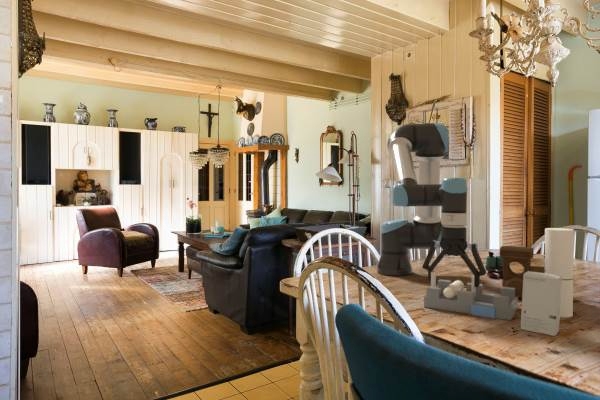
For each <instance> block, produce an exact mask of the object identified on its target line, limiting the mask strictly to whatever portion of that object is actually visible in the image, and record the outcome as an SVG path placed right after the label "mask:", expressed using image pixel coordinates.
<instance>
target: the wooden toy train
mask: <svg viewBox="0 0 600 400" xmlns="http://www.w3.org/2000/svg"><path fill="white" fill-rule="evenodd" d="M499 253H500V254H499V256H500V257H503V277H504V279H502V286H501V287H511V288H515V297H518V299H522V292H523V276H524V273H526V272H528V271H531V272H539V273H545V266H535V265H531V263H532V262H531V261H532V260H533V258H534V247H529V246H518V245H515V246H514V245H502V246H501V247H499ZM543 259H544V260H545V255H544V256H543ZM511 263H512V264H513V263H518V264H520V265H522V267H523V271H522V272H514V271H513V270H512V269H511Z"/></svg>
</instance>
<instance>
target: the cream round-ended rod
mask: <svg viewBox="0 0 600 400" xmlns="http://www.w3.org/2000/svg"><path fill="white" fill-rule="evenodd" d="M464 289H465V284H464V283H463V281H461V280H460V279H457V280H454V282H451V284H450V285H449V286H448V287H446V288H445V289H444V291H443V294H444V296H445V297H446V298H449V299H451V298H453V297H455V296H456V295H457V292H458V291H459V290H464Z"/></svg>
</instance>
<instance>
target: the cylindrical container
mask: <svg viewBox="0 0 600 400" xmlns="http://www.w3.org/2000/svg"><path fill="white" fill-rule="evenodd" d="M574 230H575V229H573V228H564V227H545V228H544V256H545V259H544V267H545V273H547V274H553V275H559V276H562V286H561V304H560V318H573V315H574V313H573V312H574V242H575V241H574V240H575V237H574V233H575V231H574Z"/></svg>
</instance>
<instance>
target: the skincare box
mask: <svg viewBox="0 0 600 400" xmlns="http://www.w3.org/2000/svg"><path fill="white" fill-rule="evenodd" d="M561 286H562V276H559V275H553V274H547V273H539V272H531V271H528V272H526V273H524V276H523V292H522V298H521V314H520V329H521V330H522V331H527V332H533V333H538V334H544V335H548V336H552V337H555V336H557V334H558V332H559V331H560V320H561V319H560V318H561V317H560V304H561Z"/></svg>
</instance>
